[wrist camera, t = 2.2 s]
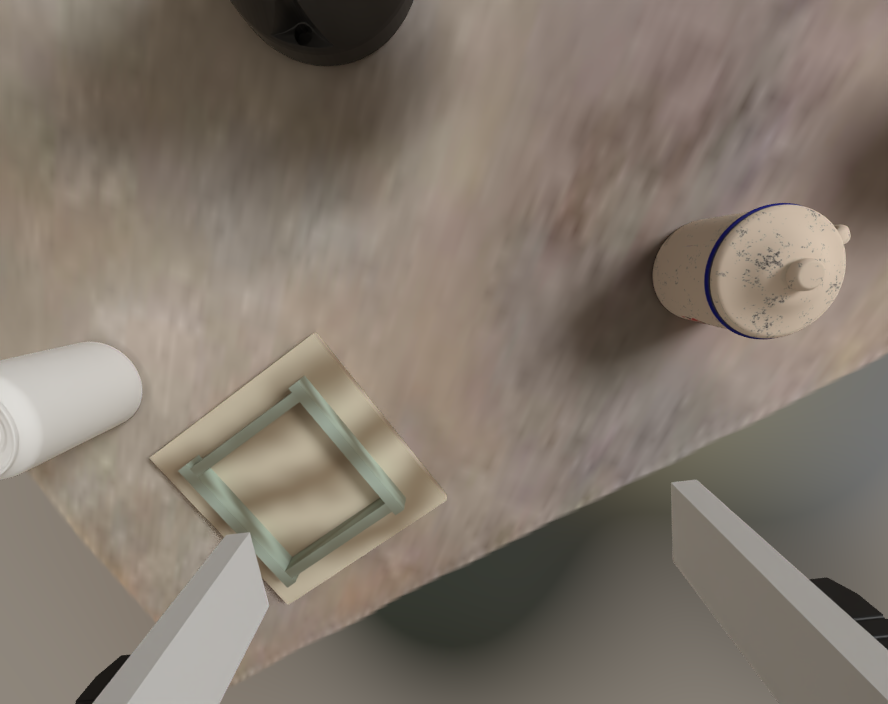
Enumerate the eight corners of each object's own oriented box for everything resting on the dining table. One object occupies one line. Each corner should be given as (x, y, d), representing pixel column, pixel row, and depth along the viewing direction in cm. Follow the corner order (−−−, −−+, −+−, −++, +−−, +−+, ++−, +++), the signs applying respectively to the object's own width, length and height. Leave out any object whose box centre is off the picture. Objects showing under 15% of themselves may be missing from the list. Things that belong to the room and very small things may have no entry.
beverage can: (156, 419, 40) (38, 484, 29) (73, 427, 41) (-78, 495, 29) (135, 335, 39) (-1, 368, 27) (48, 344, 39) (-124, 380, 27)
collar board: (156, 453, 41) (133, 468, 38) (315, 332, 38) (305, 337, 36) (291, 597, 44) (280, 621, 41) (446, 494, 42) (446, 512, 39)
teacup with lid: (665, 338, 39) (758, 370, 27) (633, 243, 37) (718, 235, 25) (797, 284, 37) (950, 294, 26) (770, 183, 36) (922, 147, 24)
